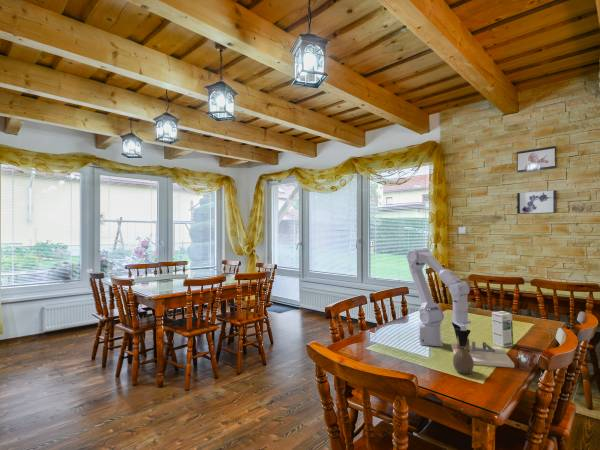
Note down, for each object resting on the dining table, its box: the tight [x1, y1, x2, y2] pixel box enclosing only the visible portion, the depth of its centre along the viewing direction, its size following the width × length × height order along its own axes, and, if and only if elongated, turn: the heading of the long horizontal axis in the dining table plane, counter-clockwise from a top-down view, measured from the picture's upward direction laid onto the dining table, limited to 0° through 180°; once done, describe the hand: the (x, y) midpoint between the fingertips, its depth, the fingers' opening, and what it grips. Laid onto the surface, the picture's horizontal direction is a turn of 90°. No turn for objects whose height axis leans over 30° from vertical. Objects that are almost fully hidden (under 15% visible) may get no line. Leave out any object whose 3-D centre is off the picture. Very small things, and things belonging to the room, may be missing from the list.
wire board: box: [450, 343, 515, 369], centre depth 140 cm, size 20×18×2 cm
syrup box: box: [491, 310, 514, 348], centre depth 153 cm, size 6×6×14 cm
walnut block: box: [456, 336, 470, 352], centre depth 144 cm, size 4×4×5 cm
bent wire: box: [471, 341, 495, 352], centre depth 139 cm, size 8×9×4 cm
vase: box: [452, 347, 475, 375], centre depth 126 cm, size 7×7×9 cm
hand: (461, 342), depth 144 cm, fingers open, 7 cm apart
